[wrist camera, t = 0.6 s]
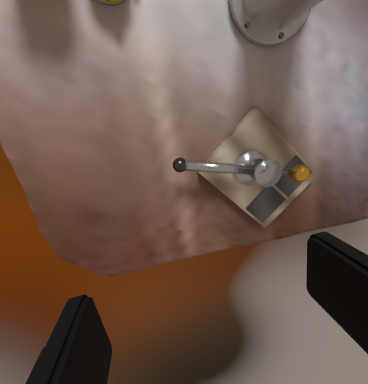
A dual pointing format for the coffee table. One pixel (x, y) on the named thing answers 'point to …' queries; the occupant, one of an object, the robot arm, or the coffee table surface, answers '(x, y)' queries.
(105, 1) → the toy tea set
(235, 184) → the stand
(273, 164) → the ball-knob lever handle
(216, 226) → the coffee table surface
